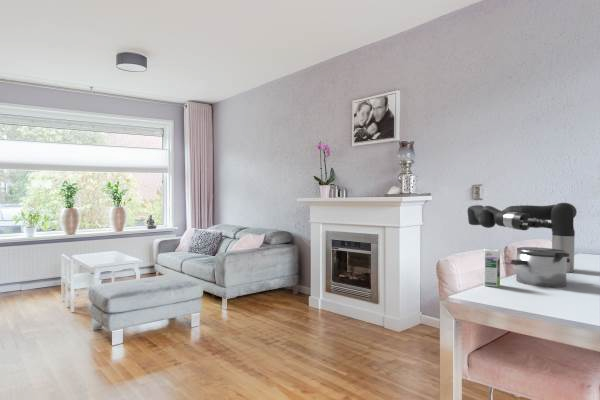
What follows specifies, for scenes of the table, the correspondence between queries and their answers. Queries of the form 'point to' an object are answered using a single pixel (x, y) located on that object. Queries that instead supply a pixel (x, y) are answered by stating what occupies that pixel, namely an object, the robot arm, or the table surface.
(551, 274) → the pot
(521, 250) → the lid
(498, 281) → the syrup box
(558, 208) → the robot arm
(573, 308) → the table surface
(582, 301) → the table surface
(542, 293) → the table surface
